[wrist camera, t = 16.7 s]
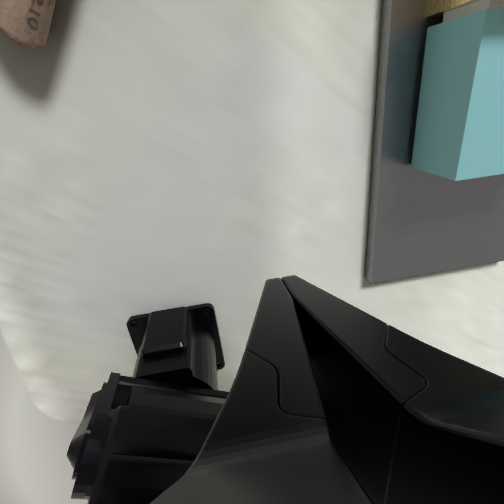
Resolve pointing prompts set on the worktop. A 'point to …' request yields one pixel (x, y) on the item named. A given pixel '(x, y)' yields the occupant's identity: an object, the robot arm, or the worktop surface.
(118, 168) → the worktop surface
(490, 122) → the slide jaw
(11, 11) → the pipe
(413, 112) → the vise
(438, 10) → the brass block
